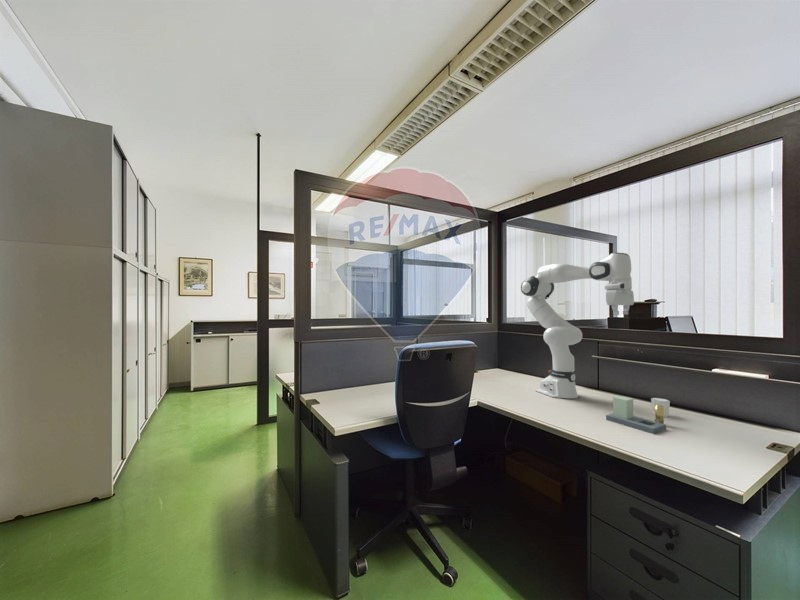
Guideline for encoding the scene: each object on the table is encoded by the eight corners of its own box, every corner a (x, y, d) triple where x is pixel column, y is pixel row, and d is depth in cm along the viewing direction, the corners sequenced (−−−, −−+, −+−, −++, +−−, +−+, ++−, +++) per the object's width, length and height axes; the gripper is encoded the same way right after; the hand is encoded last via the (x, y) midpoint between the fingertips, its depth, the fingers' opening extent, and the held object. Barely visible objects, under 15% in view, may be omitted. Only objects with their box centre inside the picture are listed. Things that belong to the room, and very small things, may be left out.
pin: (653, 423, 138) (653, 405, 138) (657, 422, 139) (656, 404, 139) (661, 426, 135) (661, 407, 135) (665, 425, 136) (665, 406, 137)
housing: (613, 415, 142) (613, 397, 143) (620, 413, 145) (620, 395, 145) (626, 419, 138) (626, 400, 138) (633, 417, 140) (633, 398, 140)
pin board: (606, 419, 143) (605, 401, 143) (618, 416, 148) (618, 398, 148) (653, 433, 127) (653, 413, 127) (665, 429, 132) (665, 409, 132)
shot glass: (673, 417, 145) (673, 402, 145) (656, 416, 147) (656, 401, 147) (664, 412, 152) (664, 397, 152) (648, 411, 153) (647, 397, 153)
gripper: (623, 287, 163) (623, 314, 163) (602, 285, 152) (603, 314, 152) (637, 286, 158) (638, 314, 157) (617, 284, 147) (618, 315, 147)
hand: (620, 314), depth 155 cm, fingers open, 8 cm apart
